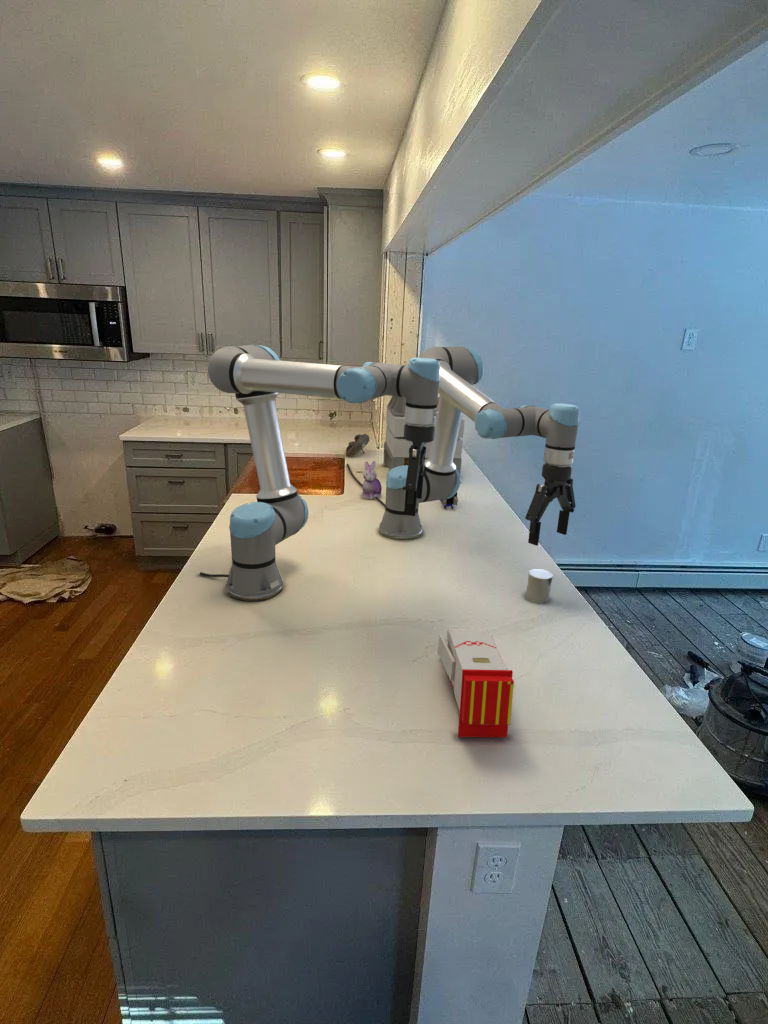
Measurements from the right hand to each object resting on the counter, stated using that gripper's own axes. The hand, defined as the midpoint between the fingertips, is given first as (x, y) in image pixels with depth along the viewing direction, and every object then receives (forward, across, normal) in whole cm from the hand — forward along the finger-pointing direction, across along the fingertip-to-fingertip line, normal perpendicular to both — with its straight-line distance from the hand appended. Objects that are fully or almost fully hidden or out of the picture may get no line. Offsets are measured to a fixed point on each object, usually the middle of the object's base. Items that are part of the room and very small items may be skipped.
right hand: (547, 538), depth 157 cm
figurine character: (+15, +34, +68) cm, 78 cm away
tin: (+17, -3, -1) cm, 17 cm away
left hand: (-11, -34, +19) cm, 40 cm away
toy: (+17, -50, -17) cm, 56 cm away
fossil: (+13, +56, +156) cm, 167 cm away
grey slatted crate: (+14, +58, +109) cm, 124 cm away
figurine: (+15, +15, +94) cm, 97 cm away
